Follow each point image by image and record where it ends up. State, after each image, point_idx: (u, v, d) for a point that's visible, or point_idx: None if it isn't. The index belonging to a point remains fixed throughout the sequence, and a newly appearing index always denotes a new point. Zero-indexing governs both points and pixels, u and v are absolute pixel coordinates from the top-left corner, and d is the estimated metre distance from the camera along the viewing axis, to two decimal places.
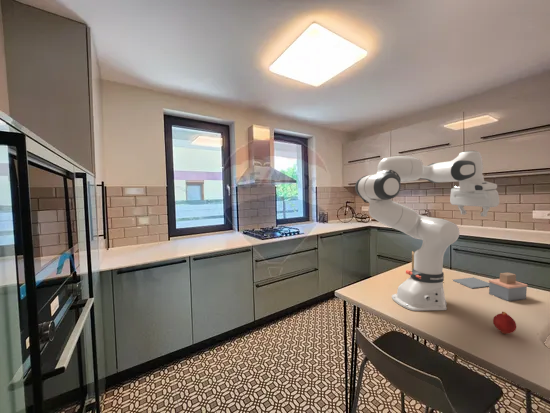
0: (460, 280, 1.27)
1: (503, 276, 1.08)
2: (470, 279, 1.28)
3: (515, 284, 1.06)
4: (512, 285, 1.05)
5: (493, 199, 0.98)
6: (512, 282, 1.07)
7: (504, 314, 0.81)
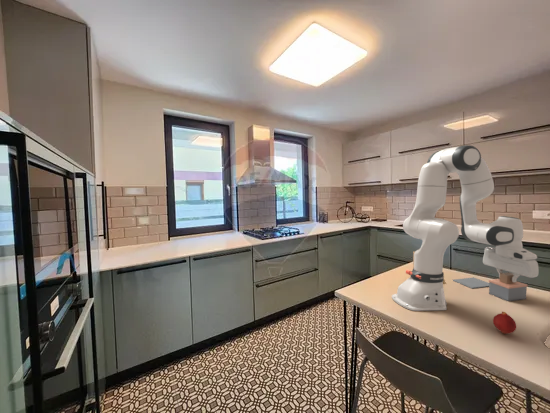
0: (460, 280, 1.27)
1: (503, 276, 1.08)
2: (470, 279, 1.28)
3: (515, 284, 1.06)
4: (512, 285, 1.05)
5: (533, 270, 0.98)
6: (512, 282, 1.07)
7: (504, 314, 0.81)
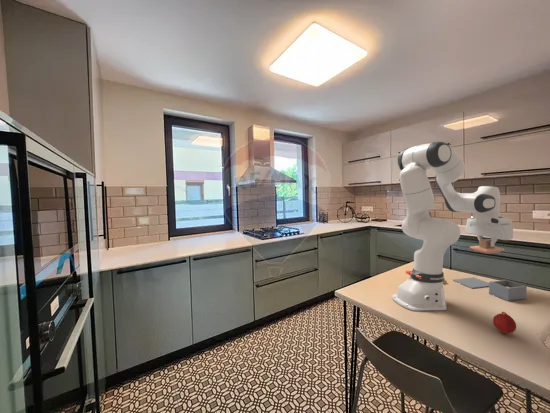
0: (460, 280, 1.27)
1: (482, 241, 1.16)
2: (470, 279, 1.28)
3: (493, 248, 1.14)
4: (490, 249, 1.13)
5: (507, 232, 1.06)
6: (491, 247, 1.15)
7: (504, 314, 0.81)
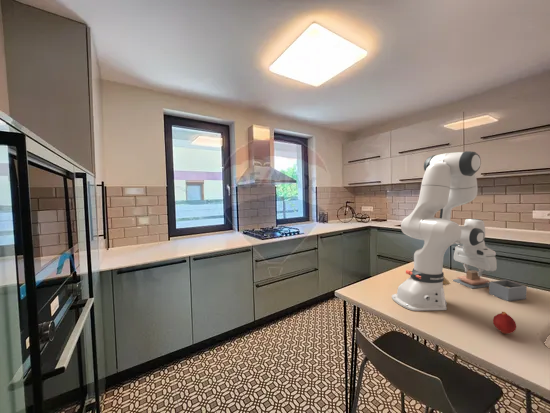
0: (460, 280, 1.27)
1: (469, 273, 1.24)
2: None
3: (479, 280, 1.22)
4: (476, 281, 1.21)
5: (491, 264, 1.14)
6: (476, 278, 1.23)
7: (504, 314, 0.81)
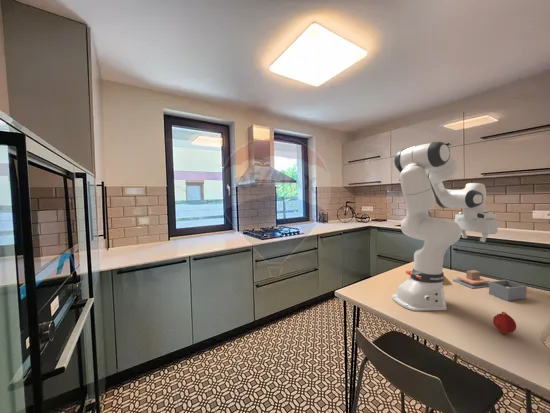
0: (460, 280, 1.27)
1: (469, 273, 1.24)
2: None
3: (479, 280, 1.22)
4: (476, 281, 1.21)
5: (492, 227, 1.12)
6: (476, 278, 1.23)
7: (504, 314, 0.81)
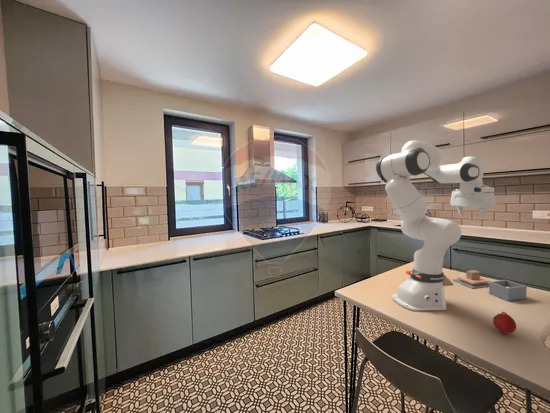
0: (460, 280, 1.27)
1: (469, 273, 1.24)
2: None
3: (479, 280, 1.22)
4: (476, 281, 1.21)
5: (489, 200, 1.08)
6: (476, 278, 1.23)
7: (504, 314, 0.81)
